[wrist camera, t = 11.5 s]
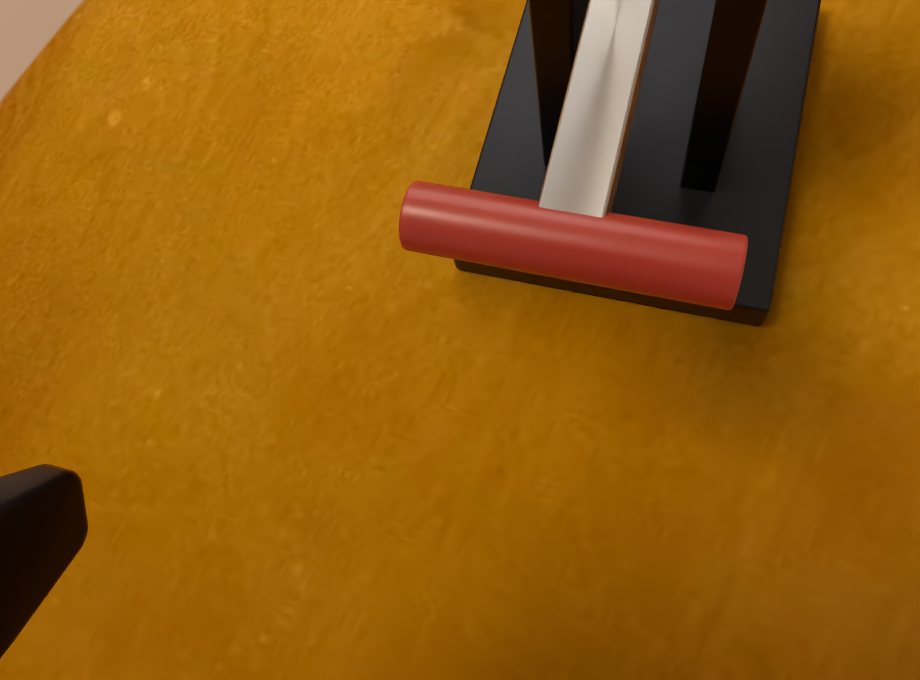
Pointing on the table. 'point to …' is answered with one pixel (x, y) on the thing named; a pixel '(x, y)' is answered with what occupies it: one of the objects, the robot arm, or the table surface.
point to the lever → (584, 192)
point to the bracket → (672, 128)
